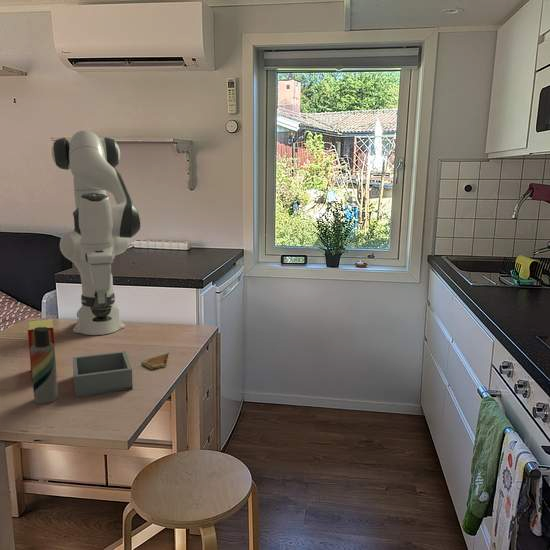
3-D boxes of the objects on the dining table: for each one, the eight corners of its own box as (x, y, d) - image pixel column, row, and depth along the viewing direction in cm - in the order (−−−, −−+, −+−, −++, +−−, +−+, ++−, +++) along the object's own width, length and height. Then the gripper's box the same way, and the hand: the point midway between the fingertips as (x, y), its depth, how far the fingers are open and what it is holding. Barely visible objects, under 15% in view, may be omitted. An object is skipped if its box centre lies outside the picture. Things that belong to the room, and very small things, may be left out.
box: (73, 376, 145) (72, 357, 144) (125, 369, 151) (125, 351, 150) (75, 397, 131) (74, 376, 130) (132, 389, 137) (132, 369, 136)
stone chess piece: (89, 318, 140) (86, 277, 138) (110, 315, 143) (108, 275, 140) (92, 323, 135) (90, 281, 132) (114, 320, 138) (112, 279, 135)
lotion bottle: (39, 394, 132) (34, 324, 128) (61, 394, 133) (56, 324, 129) (30, 404, 127) (24, 331, 123) (53, 404, 127) (48, 331, 123)
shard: (168, 356, 163) (168, 351, 163) (182, 363, 158) (182, 357, 158) (140, 365, 155) (140, 360, 155) (154, 372, 150) (154, 367, 150)
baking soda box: (32, 369, 149) (28, 319, 145) (55, 366, 151) (52, 317, 148) (31, 381, 140) (27, 329, 137) (56, 378, 143) (53, 326, 140)
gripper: (83, 248, 143) (86, 294, 146) (87, 258, 125) (91, 310, 127) (106, 247, 146) (108, 292, 148) (113, 257, 127) (116, 308, 130)
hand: (100, 301), depth 138 cm, fingers closed on stone chess piece, 3 cm apart
